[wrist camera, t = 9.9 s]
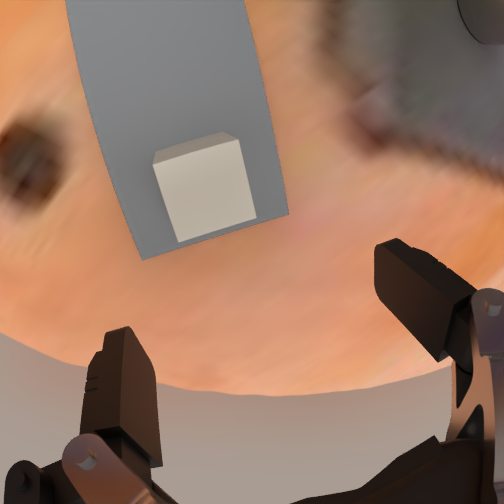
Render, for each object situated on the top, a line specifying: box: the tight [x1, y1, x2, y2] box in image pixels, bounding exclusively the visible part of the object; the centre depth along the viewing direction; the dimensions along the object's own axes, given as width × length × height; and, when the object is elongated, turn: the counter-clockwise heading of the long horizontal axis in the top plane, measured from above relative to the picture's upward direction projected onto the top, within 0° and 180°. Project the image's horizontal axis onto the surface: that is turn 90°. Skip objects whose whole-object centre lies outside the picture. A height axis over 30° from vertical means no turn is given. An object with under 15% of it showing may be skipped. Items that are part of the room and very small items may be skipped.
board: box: [65, 0, 289, 260], centre depth 21 cm, size 14×26×6 cm, turn 12°
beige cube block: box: [153, 131, 257, 243], centre depth 23 cm, size 6×6×6 cm
